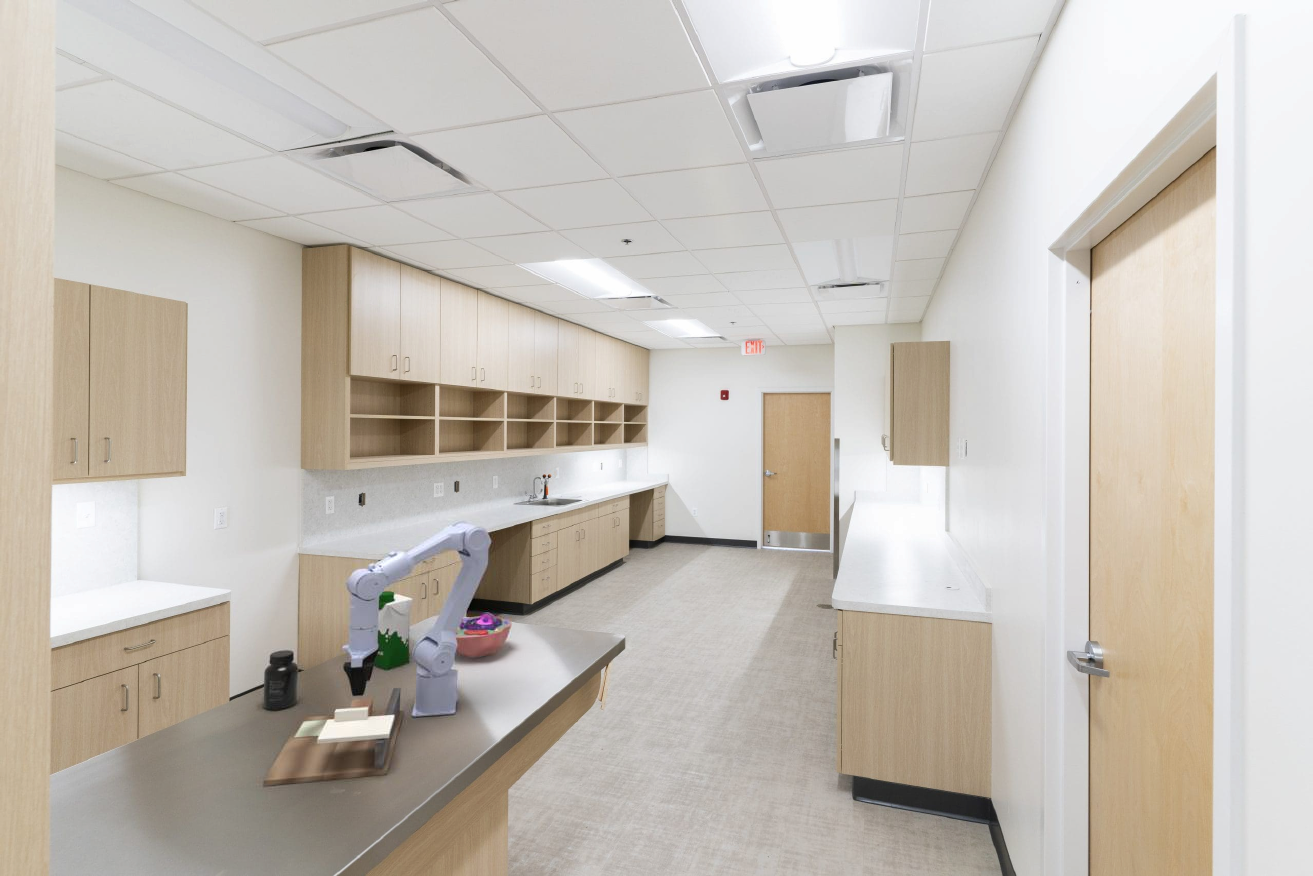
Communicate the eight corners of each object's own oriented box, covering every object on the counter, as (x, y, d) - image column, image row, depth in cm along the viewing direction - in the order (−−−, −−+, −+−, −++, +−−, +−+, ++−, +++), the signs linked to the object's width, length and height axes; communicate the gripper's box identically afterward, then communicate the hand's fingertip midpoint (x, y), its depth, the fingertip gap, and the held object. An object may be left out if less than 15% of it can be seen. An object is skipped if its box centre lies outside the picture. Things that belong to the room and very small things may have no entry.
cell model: (429, 656, 181) (431, 617, 181) (485, 638, 197) (486, 602, 197) (468, 671, 171) (469, 630, 171) (523, 651, 188) (524, 613, 187)
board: (403, 714, 145) (404, 687, 145) (386, 774, 121) (387, 742, 121) (301, 722, 140) (302, 693, 140) (263, 786, 116) (264, 752, 116)
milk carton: (366, 664, 173) (368, 592, 172) (395, 655, 181) (397, 585, 180) (385, 672, 168) (388, 598, 168) (414, 662, 176) (417, 591, 175)
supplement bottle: (304, 701, 150) (305, 651, 150) (278, 713, 143) (280, 661, 143) (282, 696, 152) (283, 646, 152) (256, 707, 146) (257, 656, 145)
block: (371, 725, 140) (372, 698, 140) (368, 734, 136) (369, 706, 136) (352, 726, 139) (353, 699, 139) (348, 735, 135) (349, 708, 135)
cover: (394, 718, 130) (394, 705, 130) (388, 738, 122) (389, 723, 122) (327, 723, 127) (327, 709, 126) (317, 743, 119) (317, 729, 119)
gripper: (350, 615, 143) (348, 675, 143) (335, 637, 129) (333, 703, 129) (384, 614, 145) (382, 673, 145) (373, 636, 131) (371, 701, 131)
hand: (361, 687), depth 137 cm, fingers open, 7 cm apart
